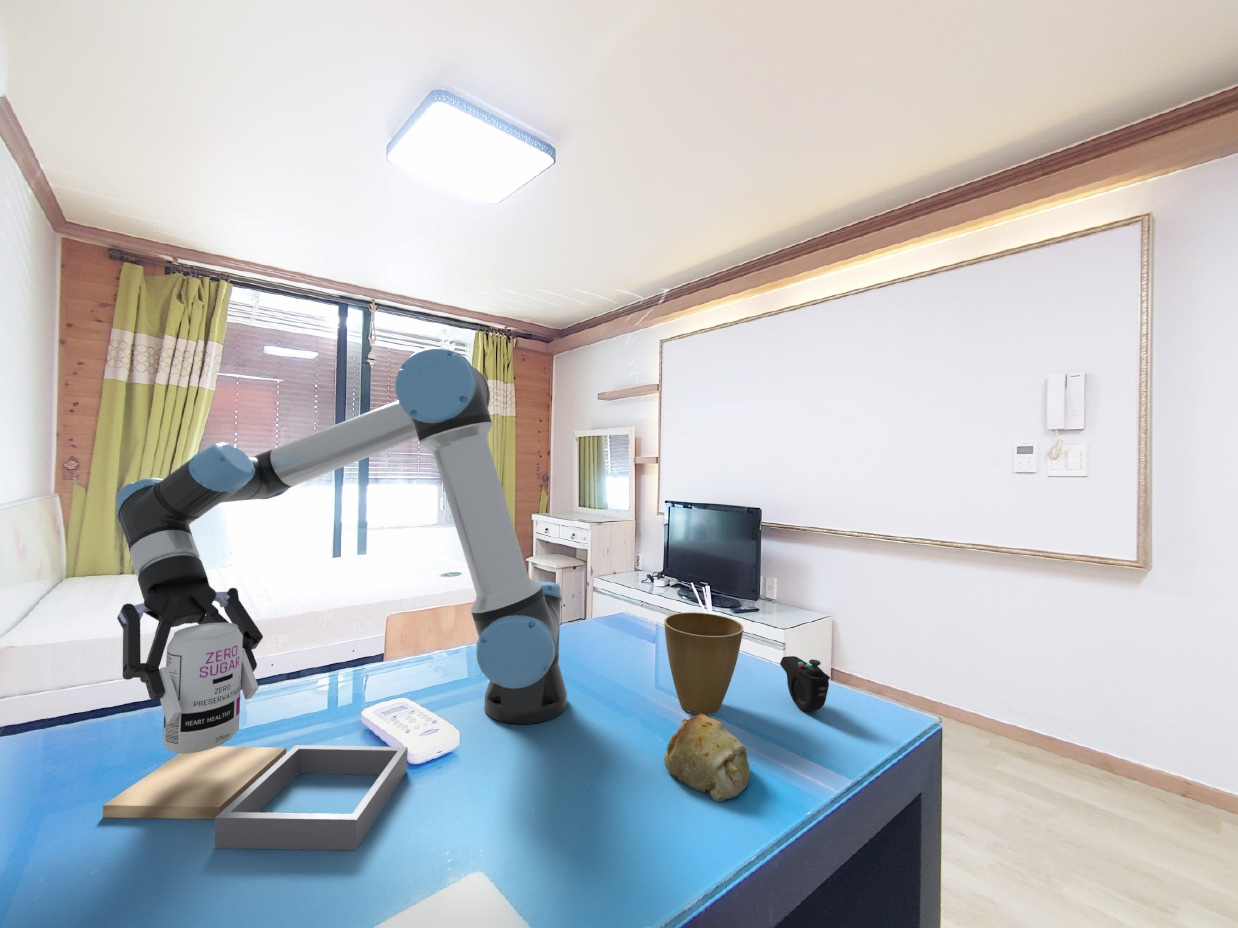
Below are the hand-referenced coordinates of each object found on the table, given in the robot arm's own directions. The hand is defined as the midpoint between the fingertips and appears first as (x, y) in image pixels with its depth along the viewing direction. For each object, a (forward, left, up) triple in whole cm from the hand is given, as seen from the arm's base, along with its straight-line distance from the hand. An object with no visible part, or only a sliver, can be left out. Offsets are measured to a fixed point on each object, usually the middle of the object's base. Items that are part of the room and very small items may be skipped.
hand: (215, 704), depth 71 cm
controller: (-91, -30, -12) cm, 96 cm away
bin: (-16, +2, -12) cm, 20 cm away
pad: (+2, -2, -12) cm, 12 cm away
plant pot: (-71, -29, -12) cm, 77 cm away
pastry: (-67, -7, -12) cm, 69 cm away
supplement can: (+3, -2, -6) cm, 7 cm away
